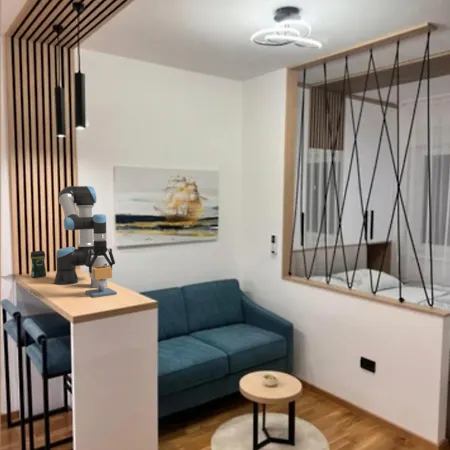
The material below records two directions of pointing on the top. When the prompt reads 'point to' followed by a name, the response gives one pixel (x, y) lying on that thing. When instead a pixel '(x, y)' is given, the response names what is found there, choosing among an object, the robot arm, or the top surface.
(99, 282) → the keeper
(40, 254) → the coffee jar
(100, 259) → the container
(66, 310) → the top surface
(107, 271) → the cardboard box
